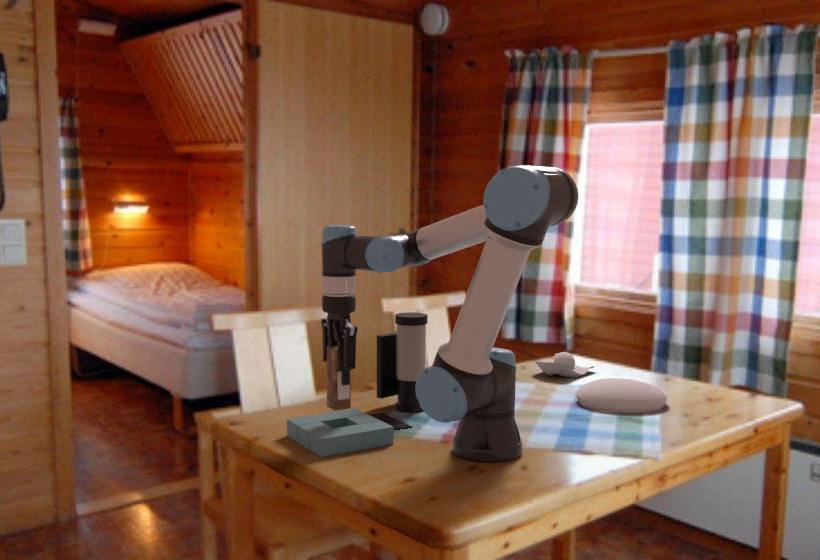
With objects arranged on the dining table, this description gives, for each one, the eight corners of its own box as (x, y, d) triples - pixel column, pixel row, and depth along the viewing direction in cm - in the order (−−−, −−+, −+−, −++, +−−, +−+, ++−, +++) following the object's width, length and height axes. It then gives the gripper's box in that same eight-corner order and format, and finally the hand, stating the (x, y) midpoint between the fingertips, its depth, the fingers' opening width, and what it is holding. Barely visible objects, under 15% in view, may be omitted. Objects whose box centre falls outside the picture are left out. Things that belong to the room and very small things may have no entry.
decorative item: (583, 392, 239) (569, 409, 220) (584, 368, 238) (570, 384, 220) (669, 400, 230) (662, 419, 212) (670, 376, 229) (663, 392, 211)
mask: (601, 373, 262) (562, 370, 272) (600, 349, 262) (561, 347, 272) (563, 382, 248) (524, 378, 258) (562, 357, 248) (522, 354, 258)
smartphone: (356, 419, 211) (387, 434, 198) (356, 415, 211) (387, 430, 198) (381, 415, 215) (414, 429, 202) (381, 411, 215) (414, 425, 202)
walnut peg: (350, 408, 191) (350, 347, 189) (334, 410, 189) (334, 349, 187) (342, 404, 194) (342, 344, 192) (326, 406, 192) (326, 346, 190)
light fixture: (405, 416, 212) (406, 319, 209) (376, 407, 220) (376, 314, 217) (438, 407, 221) (439, 314, 218) (408, 399, 228) (409, 309, 226)
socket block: (393, 444, 189) (393, 426, 189) (321, 457, 180) (320, 439, 179) (355, 424, 204) (355, 408, 204) (287, 435, 195) (286, 419, 195)
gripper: (372, 297, 183) (371, 402, 186) (336, 288, 198) (336, 386, 200) (341, 300, 179) (341, 407, 182) (307, 290, 194) (307, 390, 196)
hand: (338, 396), depth 191 cm, fingers closed on walnut peg, 4 cm apart
